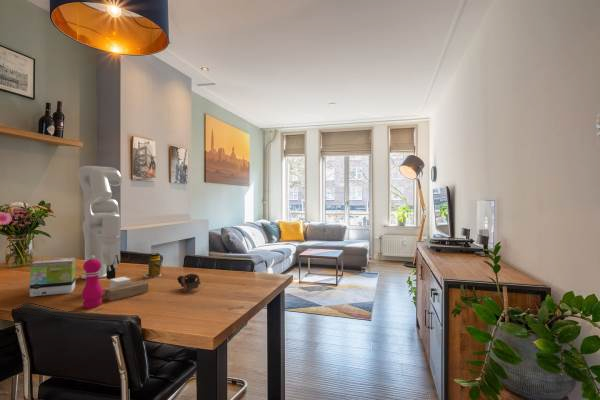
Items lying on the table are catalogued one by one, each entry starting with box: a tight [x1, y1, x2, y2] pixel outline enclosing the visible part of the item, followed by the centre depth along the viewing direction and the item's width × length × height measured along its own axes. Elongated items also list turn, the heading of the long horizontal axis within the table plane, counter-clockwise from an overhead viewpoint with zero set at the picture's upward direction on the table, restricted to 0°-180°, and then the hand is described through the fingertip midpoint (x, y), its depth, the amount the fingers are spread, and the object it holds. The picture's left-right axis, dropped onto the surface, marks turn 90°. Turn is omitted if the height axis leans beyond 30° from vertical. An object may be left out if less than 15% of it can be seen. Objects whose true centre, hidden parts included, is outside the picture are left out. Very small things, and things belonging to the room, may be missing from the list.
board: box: [103, 280, 149, 302], centre depth 139 cm, size 6×16×4 cm, turn 144°
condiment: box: [143, 252, 163, 278], centre depth 173 cm, size 7×8×12 cm
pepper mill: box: [81, 255, 104, 309], centre depth 125 cm, size 7×7×20 cm
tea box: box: [29, 257, 77, 298], centre depth 142 cm, size 15×10×15 cm
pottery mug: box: [177, 273, 202, 293], centre depth 148 cm, size 12×10×8 cm
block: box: [109, 276, 132, 288], centre depth 143 cm, size 7×6×6 cm
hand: (111, 278), depth 149 cm, fingers closed
